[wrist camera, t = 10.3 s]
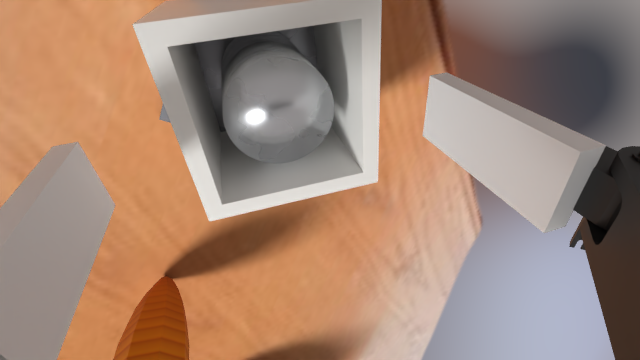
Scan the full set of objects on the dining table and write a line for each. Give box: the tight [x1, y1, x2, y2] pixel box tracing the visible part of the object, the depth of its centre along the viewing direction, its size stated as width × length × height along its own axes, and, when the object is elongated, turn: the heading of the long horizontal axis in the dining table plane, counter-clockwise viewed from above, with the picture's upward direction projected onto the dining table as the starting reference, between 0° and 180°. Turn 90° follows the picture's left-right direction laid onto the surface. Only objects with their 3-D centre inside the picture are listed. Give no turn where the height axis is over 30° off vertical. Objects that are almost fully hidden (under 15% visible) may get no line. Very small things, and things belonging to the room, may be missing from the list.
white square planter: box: [132, 0, 382, 221], centre depth 17 cm, size 9×9×8 cm
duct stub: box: [159, 26, 334, 163], centre depth 17 cm, size 10×10×8 cm
